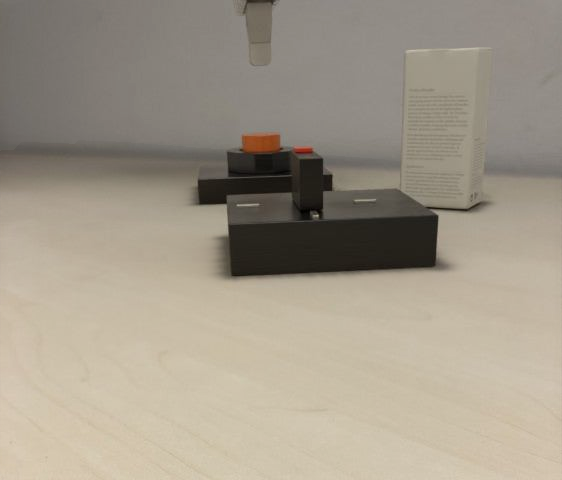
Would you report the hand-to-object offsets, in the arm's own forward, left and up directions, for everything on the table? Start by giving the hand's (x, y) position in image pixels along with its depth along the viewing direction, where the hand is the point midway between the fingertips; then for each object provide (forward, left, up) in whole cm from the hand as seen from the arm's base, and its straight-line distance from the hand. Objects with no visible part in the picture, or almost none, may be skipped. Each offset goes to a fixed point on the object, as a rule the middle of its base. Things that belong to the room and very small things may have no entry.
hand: (260, 65), depth 63 cm
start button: (0, 0, -8) cm, 8 cm away
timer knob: (+10, -22, -8) cm, 25 cm away
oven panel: (+11, -22, -11) cm, 27 cm away
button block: (0, 0, -11) cm, 11 cm away
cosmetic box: (+17, -4, -11) cm, 21 cm away
